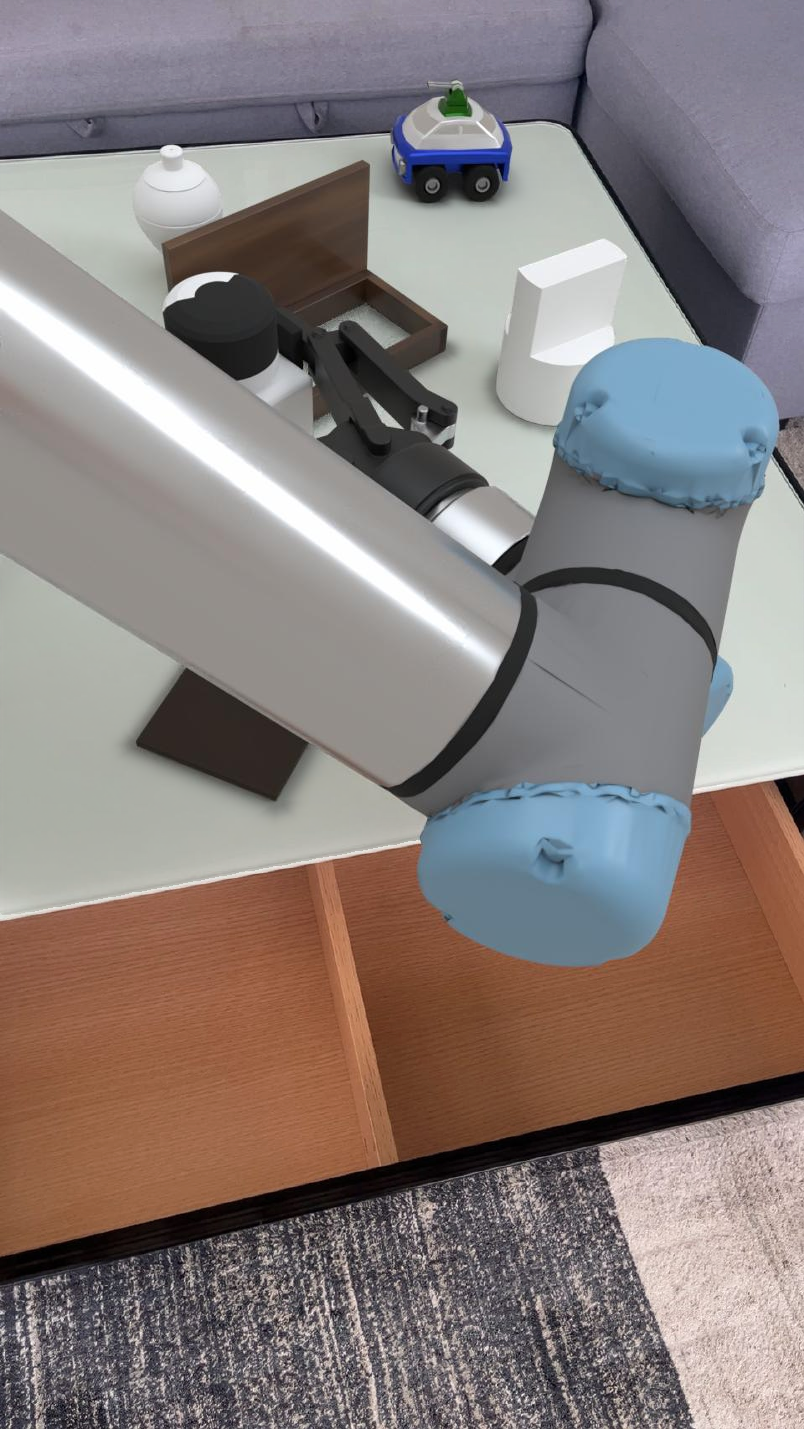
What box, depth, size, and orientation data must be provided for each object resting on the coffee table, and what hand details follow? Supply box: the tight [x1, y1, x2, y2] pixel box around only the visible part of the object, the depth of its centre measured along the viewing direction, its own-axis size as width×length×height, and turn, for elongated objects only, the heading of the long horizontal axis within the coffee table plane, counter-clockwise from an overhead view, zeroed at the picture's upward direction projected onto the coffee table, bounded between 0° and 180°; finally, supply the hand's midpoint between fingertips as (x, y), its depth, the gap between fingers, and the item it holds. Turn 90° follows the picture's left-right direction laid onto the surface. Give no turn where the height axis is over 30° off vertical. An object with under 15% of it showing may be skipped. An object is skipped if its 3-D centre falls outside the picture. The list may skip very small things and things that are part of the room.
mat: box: [135, 667, 310, 802], centre depth 70 cm, size 10×8×1 cm
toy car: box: [389, 78, 513, 203], centre depth 106 cm, size 9×12×10 cm
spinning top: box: [132, 144, 224, 256], centre depth 93 cm, size 8×8×12 cm
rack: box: [161, 159, 449, 422], centre depth 87 cm, size 12×20×12 cm, turn 132°
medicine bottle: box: [161, 272, 315, 438], centre depth 61 cm, size 7×7×12 cm
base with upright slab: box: [495, 237, 628, 427], centre depth 86 cm, size 9×9×12 cm
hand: (173, 325), depth 62 cm, fingers closed on medicine bottle, 7 cm apart
